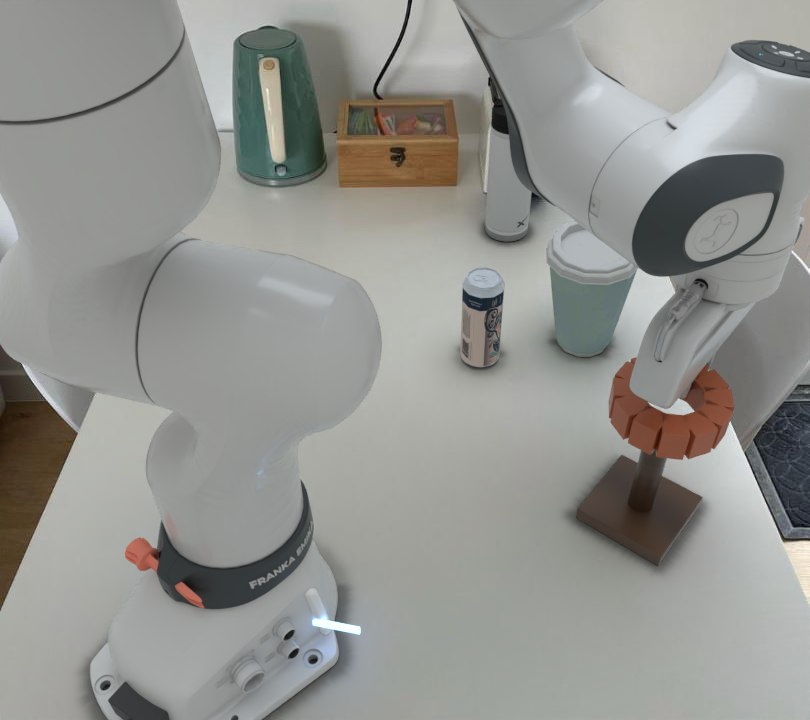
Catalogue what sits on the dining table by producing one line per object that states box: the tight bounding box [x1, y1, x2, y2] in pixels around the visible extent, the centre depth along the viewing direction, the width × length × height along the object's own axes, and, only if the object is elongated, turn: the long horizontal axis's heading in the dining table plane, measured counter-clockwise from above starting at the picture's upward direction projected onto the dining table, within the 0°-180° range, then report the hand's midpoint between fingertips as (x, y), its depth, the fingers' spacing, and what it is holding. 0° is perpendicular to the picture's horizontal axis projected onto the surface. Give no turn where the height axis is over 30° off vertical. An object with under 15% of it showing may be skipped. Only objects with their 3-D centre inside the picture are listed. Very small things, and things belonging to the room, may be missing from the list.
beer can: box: [459, 266, 506, 368], centre depth 95 cm, size 5×5×12 cm
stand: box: [575, 449, 703, 567], centre depth 77 cm, size 9×9×12 cm
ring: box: [608, 356, 735, 461], centre depth 71 cm, size 10×10×3 cm
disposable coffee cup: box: [545, 220, 639, 358], centre depth 96 cm, size 11×11×15 cm
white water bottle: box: [484, 98, 533, 243], centre depth 112 cm, size 6×7×20 cm
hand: (688, 379), depth 73 cm, fingers closed on ring, 2 cm apart
